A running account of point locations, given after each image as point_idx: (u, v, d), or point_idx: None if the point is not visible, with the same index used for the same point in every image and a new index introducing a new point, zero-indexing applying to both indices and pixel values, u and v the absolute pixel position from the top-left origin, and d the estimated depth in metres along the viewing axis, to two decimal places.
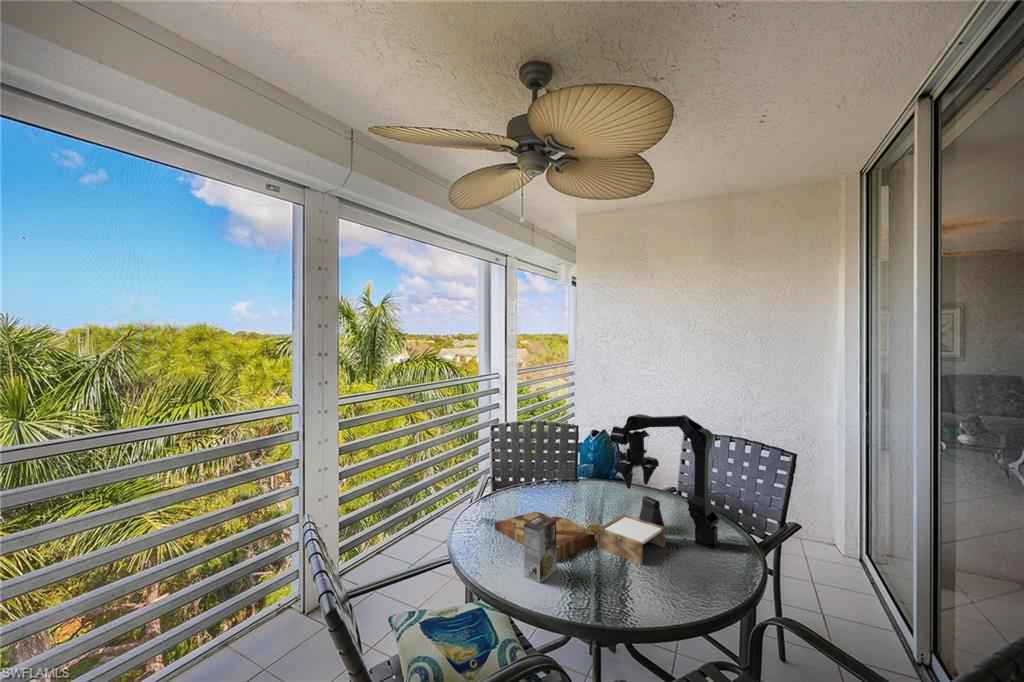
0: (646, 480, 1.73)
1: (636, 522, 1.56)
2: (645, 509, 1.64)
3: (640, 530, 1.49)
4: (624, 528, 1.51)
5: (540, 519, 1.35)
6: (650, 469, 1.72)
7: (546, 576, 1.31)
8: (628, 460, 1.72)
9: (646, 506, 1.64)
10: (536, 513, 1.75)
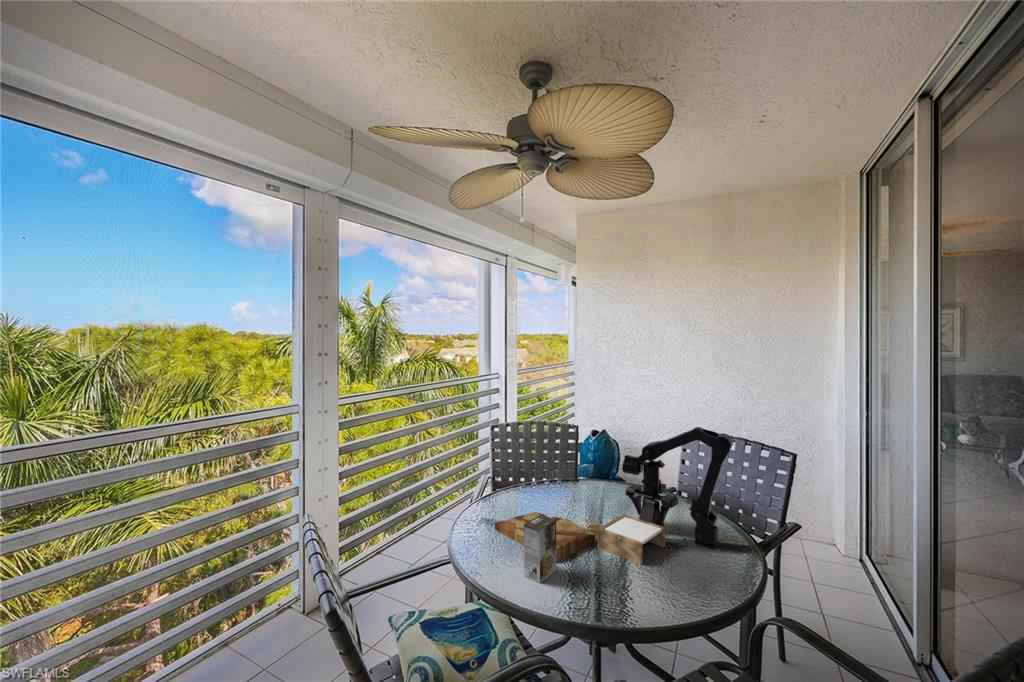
0: None
1: (636, 522, 1.56)
2: (645, 509, 1.64)
3: (640, 530, 1.49)
4: (624, 528, 1.51)
5: (540, 519, 1.35)
6: None
7: (546, 576, 1.31)
8: None
9: (646, 506, 1.64)
10: (536, 513, 1.75)
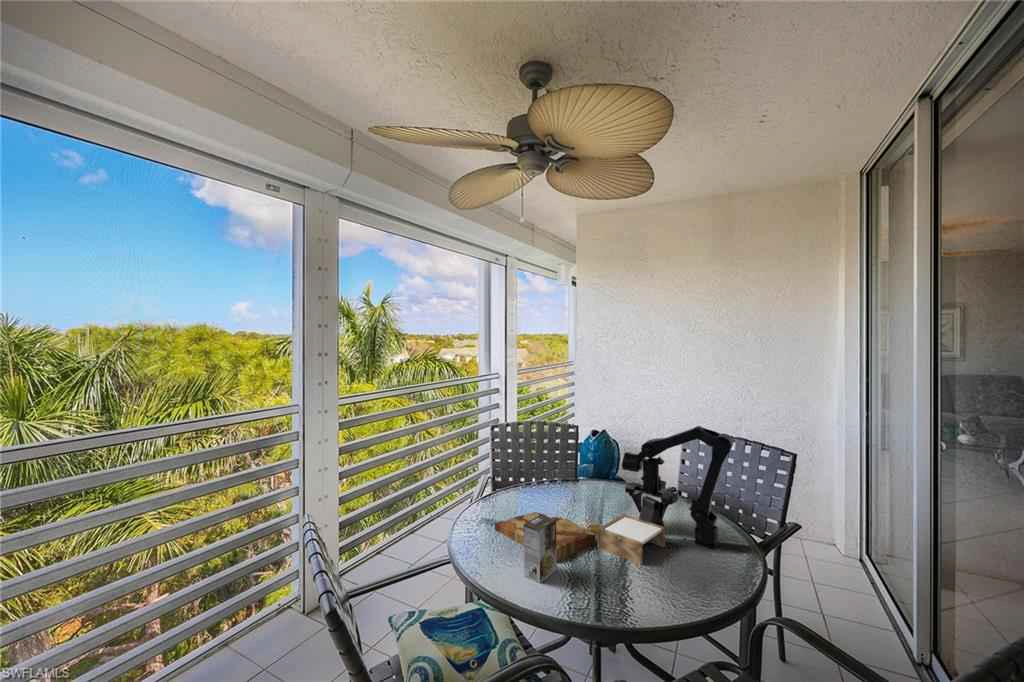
0: None
1: (636, 522, 1.56)
2: (645, 509, 1.64)
3: (640, 530, 1.49)
4: (624, 528, 1.51)
5: (540, 519, 1.35)
6: None
7: (546, 576, 1.31)
8: None
9: (646, 506, 1.64)
10: (536, 513, 1.75)
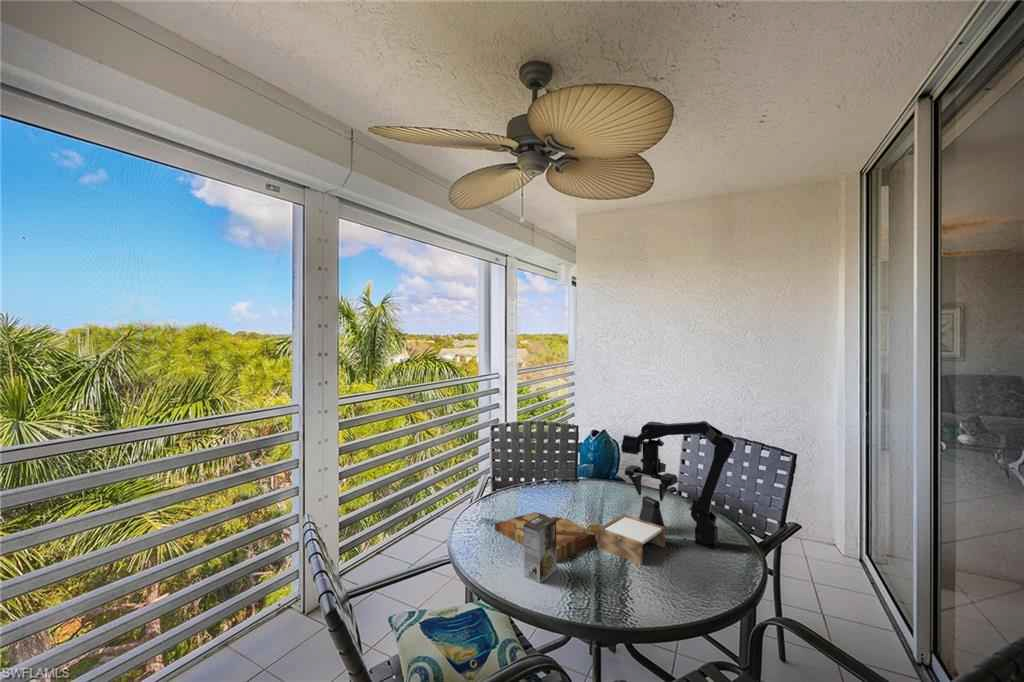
0: None
1: (636, 522, 1.56)
2: (645, 509, 1.64)
3: (640, 530, 1.49)
4: (624, 528, 1.51)
5: (540, 519, 1.35)
6: None
7: (546, 576, 1.31)
8: None
9: (646, 506, 1.64)
10: (536, 513, 1.75)
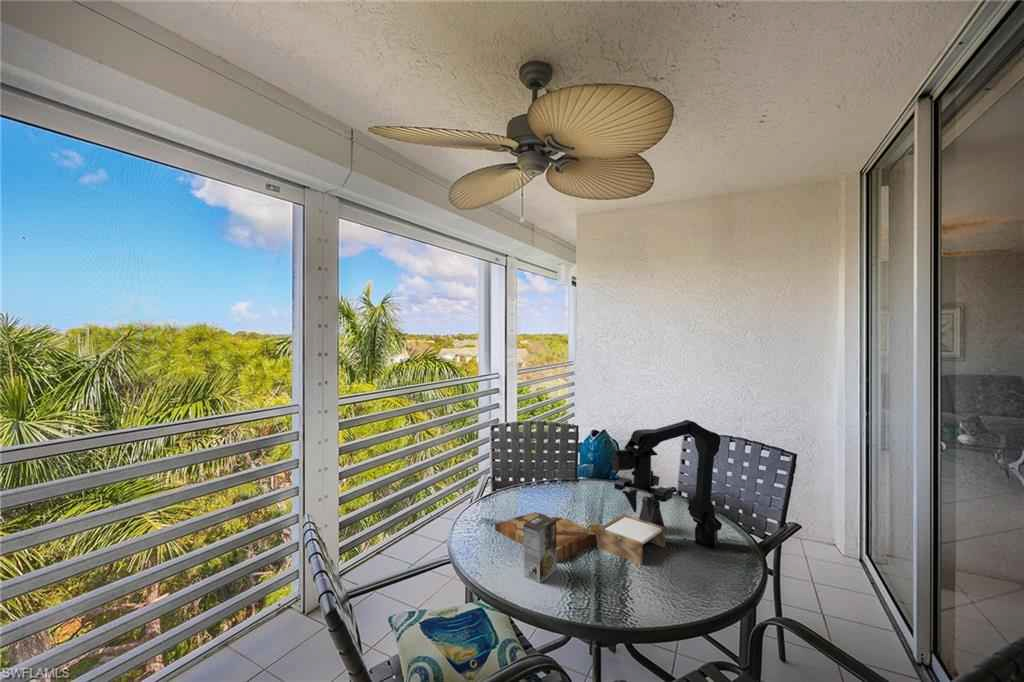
0: None
1: (636, 522, 1.56)
2: (645, 509, 1.64)
3: (640, 530, 1.49)
4: (624, 528, 1.51)
5: (540, 519, 1.35)
6: None
7: (546, 576, 1.31)
8: None
9: (646, 506, 1.64)
10: (536, 514, 1.75)
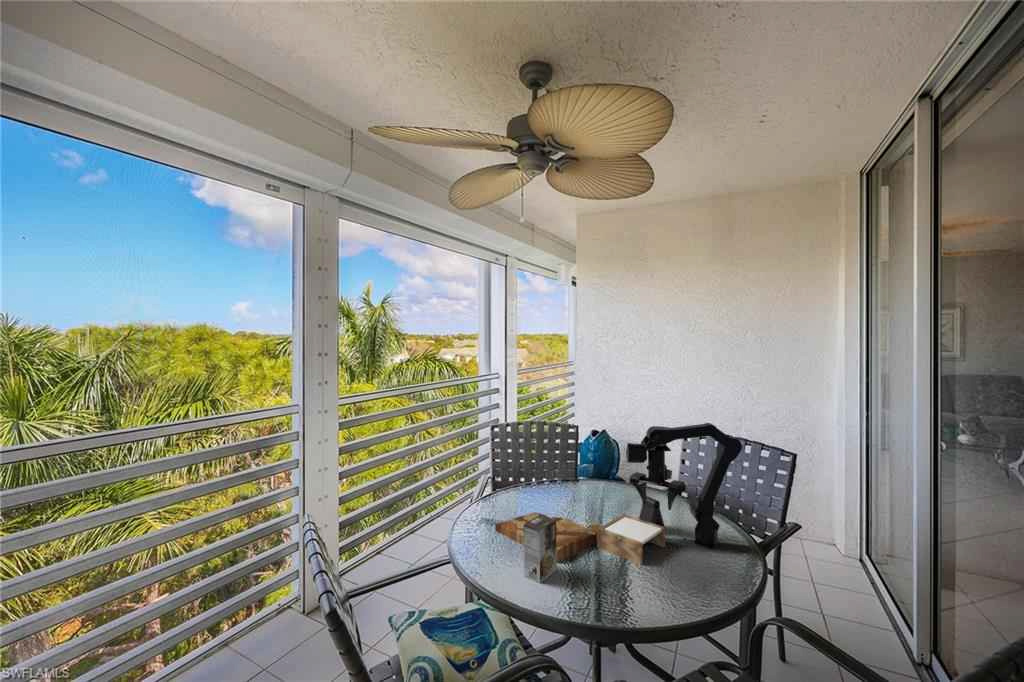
0: None
1: (636, 522, 1.56)
2: (645, 509, 1.64)
3: (640, 530, 1.49)
4: (624, 528, 1.51)
5: (540, 519, 1.35)
6: None
7: (546, 576, 1.31)
8: None
9: (646, 506, 1.64)
10: (536, 514, 1.75)
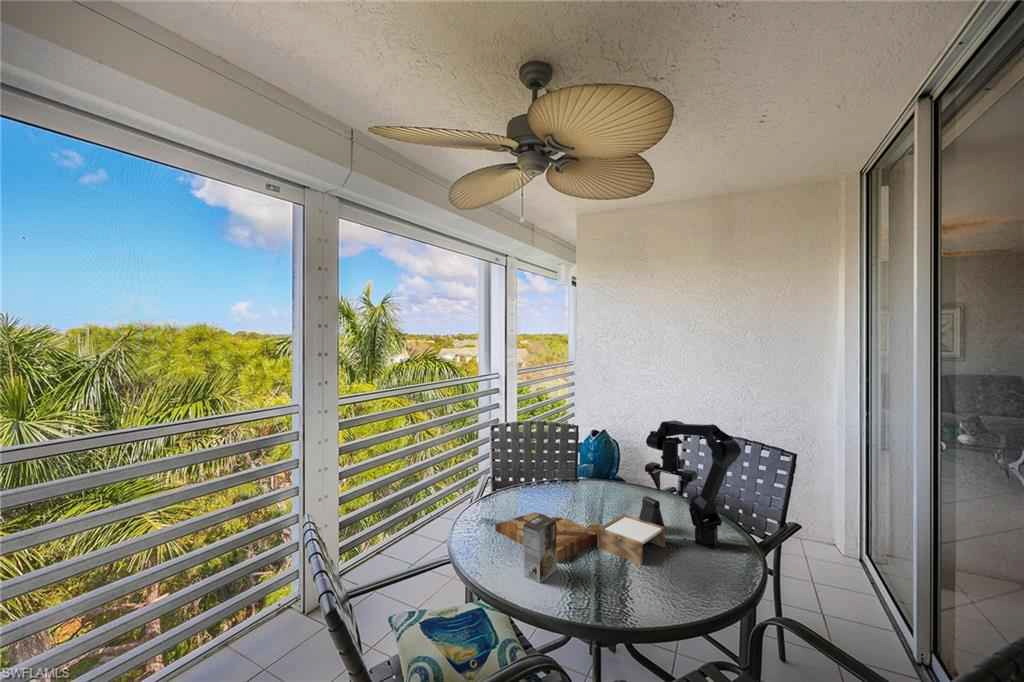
0: None
1: (636, 522, 1.56)
2: (645, 509, 1.64)
3: (640, 530, 1.49)
4: (624, 528, 1.51)
5: (540, 519, 1.35)
6: None
7: (546, 576, 1.31)
8: None
9: (646, 506, 1.64)
10: (536, 514, 1.75)
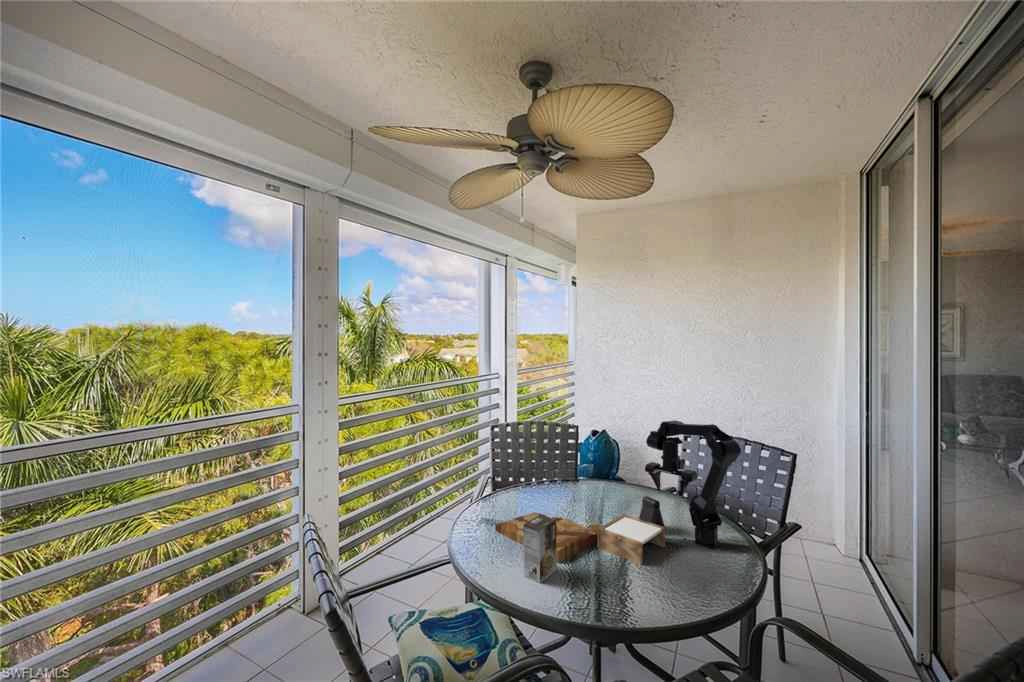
0: None
1: (636, 522, 1.56)
2: (645, 509, 1.64)
3: (640, 530, 1.49)
4: (624, 528, 1.51)
5: (540, 519, 1.35)
6: None
7: (546, 576, 1.31)
8: None
9: (646, 506, 1.64)
10: (536, 514, 1.75)
